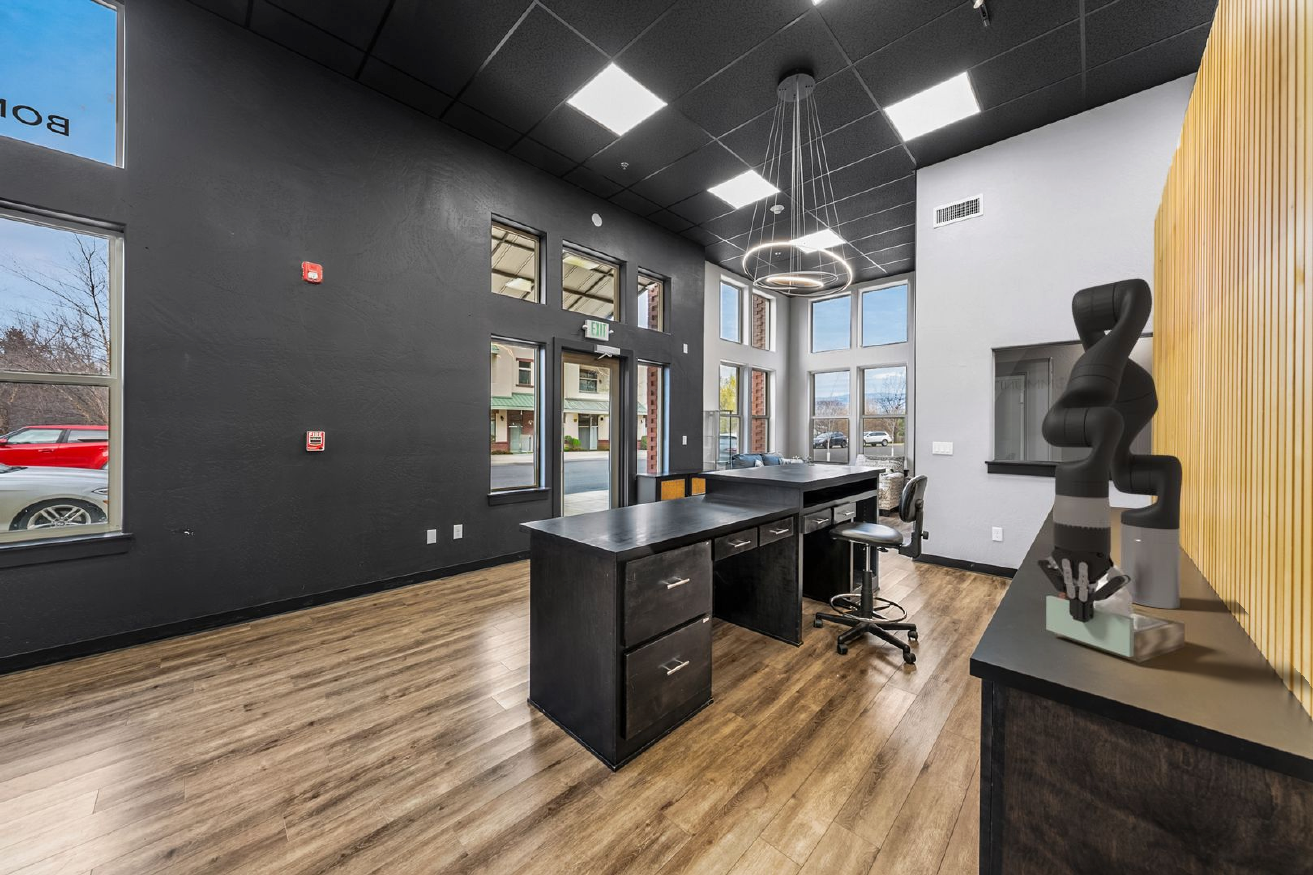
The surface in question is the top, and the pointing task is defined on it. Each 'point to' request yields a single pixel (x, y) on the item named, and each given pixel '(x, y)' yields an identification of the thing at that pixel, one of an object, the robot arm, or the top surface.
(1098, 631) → the drawer
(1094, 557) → the robot arm
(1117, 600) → the white rounded figure
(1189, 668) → the top surface
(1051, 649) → the top surface
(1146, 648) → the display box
